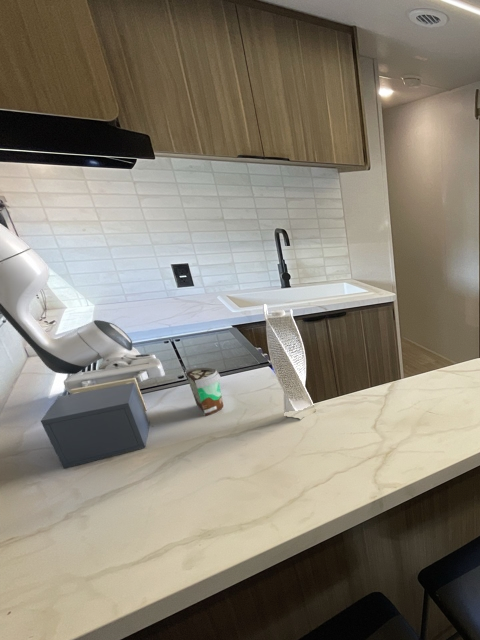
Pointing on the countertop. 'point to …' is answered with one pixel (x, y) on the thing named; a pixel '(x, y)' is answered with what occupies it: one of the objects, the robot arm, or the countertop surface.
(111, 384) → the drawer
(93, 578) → the countertop surface
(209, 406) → the food container
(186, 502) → the countertop surface
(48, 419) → the cabinet
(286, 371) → the skyscraper
